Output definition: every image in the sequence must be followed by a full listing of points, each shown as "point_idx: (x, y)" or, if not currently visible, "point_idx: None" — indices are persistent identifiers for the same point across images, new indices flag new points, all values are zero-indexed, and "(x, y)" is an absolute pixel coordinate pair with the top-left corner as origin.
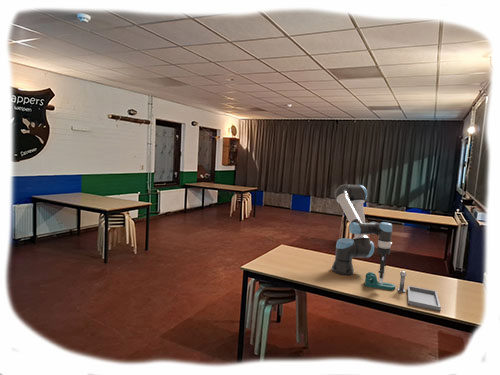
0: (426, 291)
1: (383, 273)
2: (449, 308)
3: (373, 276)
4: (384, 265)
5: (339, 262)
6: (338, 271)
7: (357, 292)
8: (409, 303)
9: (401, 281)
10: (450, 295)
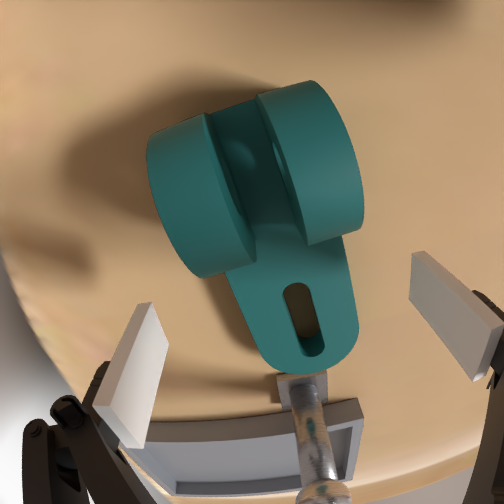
0: (345, 458)
1: (123, 441)
2: None
3: (177, 245)
4: (490, 389)
5: None
6: None
7: (6, 139)
8: None
9: (298, 448)
10: (370, 477)
